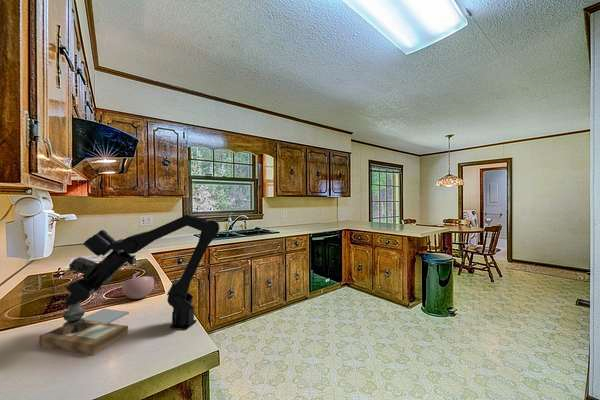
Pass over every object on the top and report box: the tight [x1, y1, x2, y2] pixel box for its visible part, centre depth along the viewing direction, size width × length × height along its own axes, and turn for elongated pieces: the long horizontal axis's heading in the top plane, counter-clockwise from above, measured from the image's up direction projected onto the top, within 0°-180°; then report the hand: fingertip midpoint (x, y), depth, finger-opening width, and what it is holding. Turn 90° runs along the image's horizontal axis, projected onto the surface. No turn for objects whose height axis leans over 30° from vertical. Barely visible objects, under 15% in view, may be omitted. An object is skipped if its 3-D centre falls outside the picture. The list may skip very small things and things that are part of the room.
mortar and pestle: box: [122, 271, 155, 300], centre depth 117 cm, size 12×12×12 cm
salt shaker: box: [61, 291, 87, 327], centre depth 84 cm, size 6×6×12 cm
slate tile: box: [82, 308, 130, 324], centre depth 97 cm, size 12×12×1 cm
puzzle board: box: [38, 320, 129, 356], centre depth 82 cm, size 20×12×3 cm, turn 78°
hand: (69, 302), depth 83 cm, fingers closed on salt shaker, 4 cm apart
